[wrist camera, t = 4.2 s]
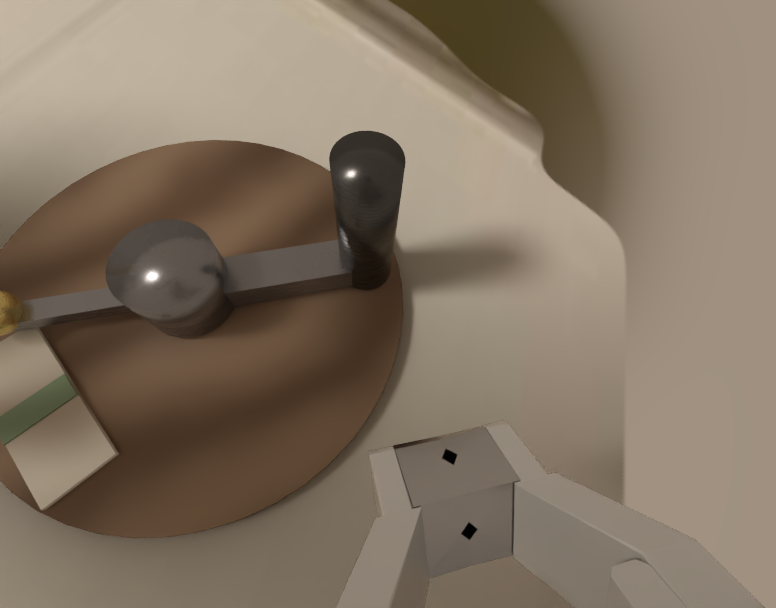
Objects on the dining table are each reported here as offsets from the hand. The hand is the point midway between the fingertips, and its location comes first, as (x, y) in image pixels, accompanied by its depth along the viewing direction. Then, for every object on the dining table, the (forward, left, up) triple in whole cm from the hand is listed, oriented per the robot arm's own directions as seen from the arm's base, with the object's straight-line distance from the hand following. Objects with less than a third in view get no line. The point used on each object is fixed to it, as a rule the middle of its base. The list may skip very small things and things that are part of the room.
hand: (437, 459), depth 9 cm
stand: (-14, -2, -13) cm, 20 cm away
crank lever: (-14, -2, -12) cm, 19 cm away
